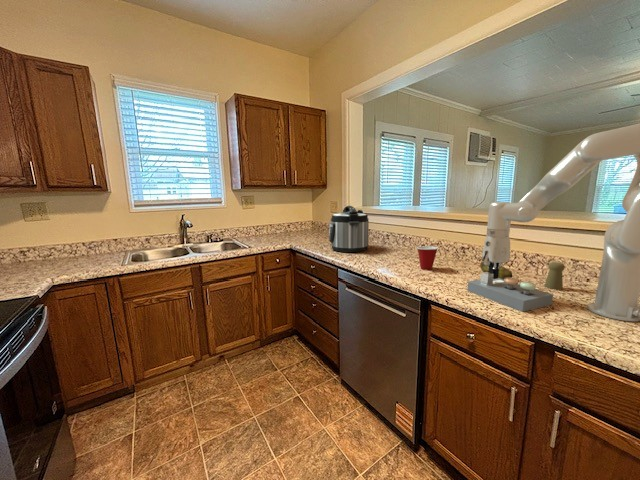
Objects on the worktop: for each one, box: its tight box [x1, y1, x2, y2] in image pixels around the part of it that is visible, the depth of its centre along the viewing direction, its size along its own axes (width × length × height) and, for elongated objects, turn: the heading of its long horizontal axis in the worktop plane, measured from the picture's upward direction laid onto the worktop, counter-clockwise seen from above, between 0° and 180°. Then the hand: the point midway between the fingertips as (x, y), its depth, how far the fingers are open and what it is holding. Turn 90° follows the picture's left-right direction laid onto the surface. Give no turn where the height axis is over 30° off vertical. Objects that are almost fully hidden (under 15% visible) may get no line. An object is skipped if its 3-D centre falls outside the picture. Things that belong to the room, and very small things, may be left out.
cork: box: [544, 261, 566, 291], centre depth 114 cm, size 6×6×11 cm
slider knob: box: [480, 271, 494, 284], centre depth 108 cm, size 3×3×4 cm
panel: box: [466, 278, 554, 313], centre depth 105 cm, size 22×16×4 cm
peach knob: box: [504, 277, 519, 290], centre depth 103 cm, size 4×4×4 cm
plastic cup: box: [416, 245, 439, 271], centre depth 145 cm, size 11×11×12 cm
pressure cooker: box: [328, 205, 370, 253], centre depth 194 cm, size 30×28×32 cm
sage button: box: [519, 281, 537, 296], centre depth 98 cm, size 4×4×4 cm
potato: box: [479, 260, 513, 280], centre depth 129 cm, size 8×13×8 cm, turn 26°
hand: (492, 277), depth 110 cm, fingers closed
